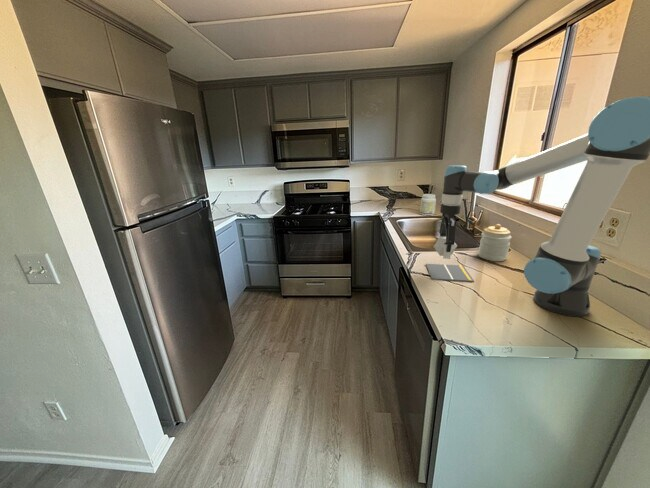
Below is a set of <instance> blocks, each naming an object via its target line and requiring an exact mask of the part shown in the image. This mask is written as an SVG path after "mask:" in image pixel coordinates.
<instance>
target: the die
mask: <svg viewBox="0 0 650 488" xmlns="http://www.w3.org/2000/svg"><path fill="white" fill-rule="evenodd" d="M450 242H451V241H450ZM444 243H446V236H445V237H440V236H439V237H438V239H437V240H436V241H435V243H434V245H433V249H435V251H436V253H437V254H438V255H439V256H440V257H443V254H444V247H445V244H444ZM457 247H458V245H457V243H456V242H455V241H454V245H452V250H451V256H452V255H453V253H454V251H455V250H456V248H457Z"/></svg>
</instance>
